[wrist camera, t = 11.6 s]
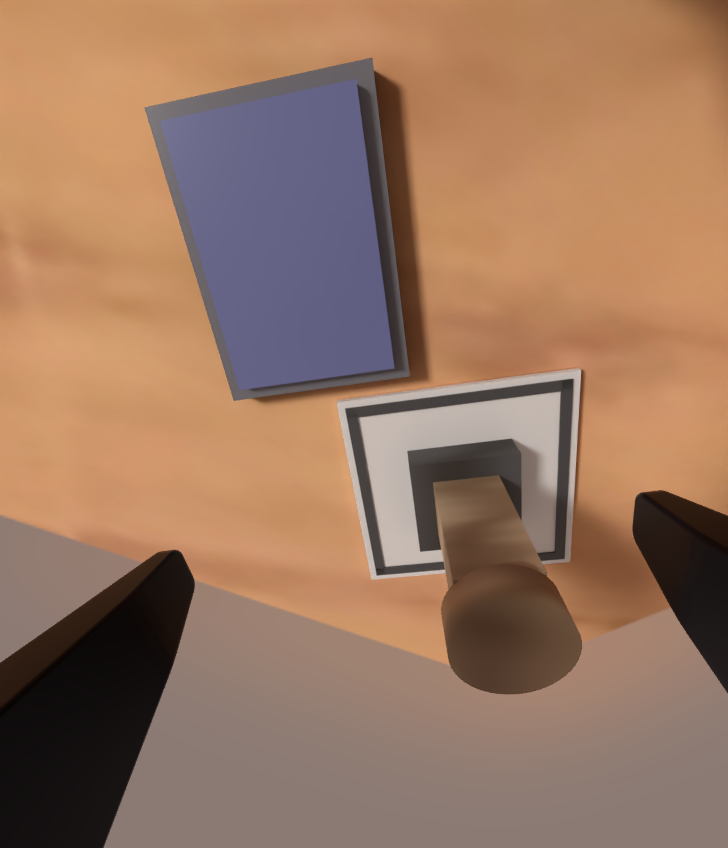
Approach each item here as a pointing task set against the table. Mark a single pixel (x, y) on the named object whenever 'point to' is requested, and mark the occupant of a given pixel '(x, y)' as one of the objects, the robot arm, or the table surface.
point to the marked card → (454, 425)
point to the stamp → (490, 570)
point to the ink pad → (289, 228)
